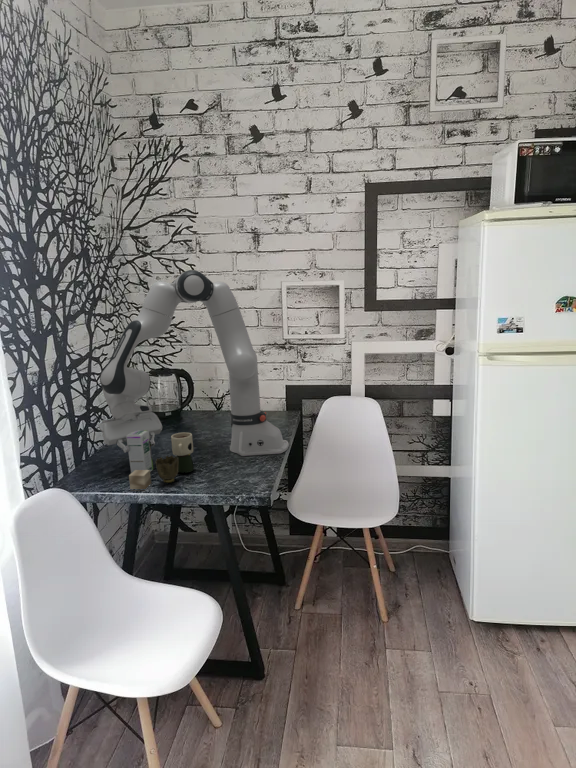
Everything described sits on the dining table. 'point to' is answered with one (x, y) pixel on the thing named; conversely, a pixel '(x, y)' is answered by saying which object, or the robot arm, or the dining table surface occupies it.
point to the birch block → (140, 479)
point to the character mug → (183, 450)
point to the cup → (167, 468)
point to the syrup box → (140, 450)
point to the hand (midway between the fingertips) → (140, 448)
